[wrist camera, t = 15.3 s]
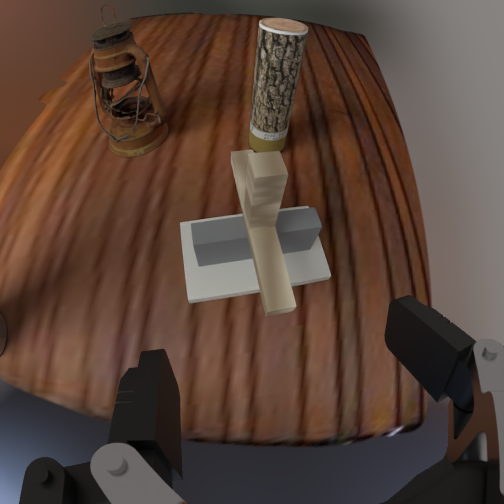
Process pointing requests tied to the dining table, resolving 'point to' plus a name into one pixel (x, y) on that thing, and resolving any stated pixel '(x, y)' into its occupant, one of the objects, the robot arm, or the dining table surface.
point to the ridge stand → (248, 253)
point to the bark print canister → (275, 81)
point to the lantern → (132, 108)
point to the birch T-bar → (264, 223)
